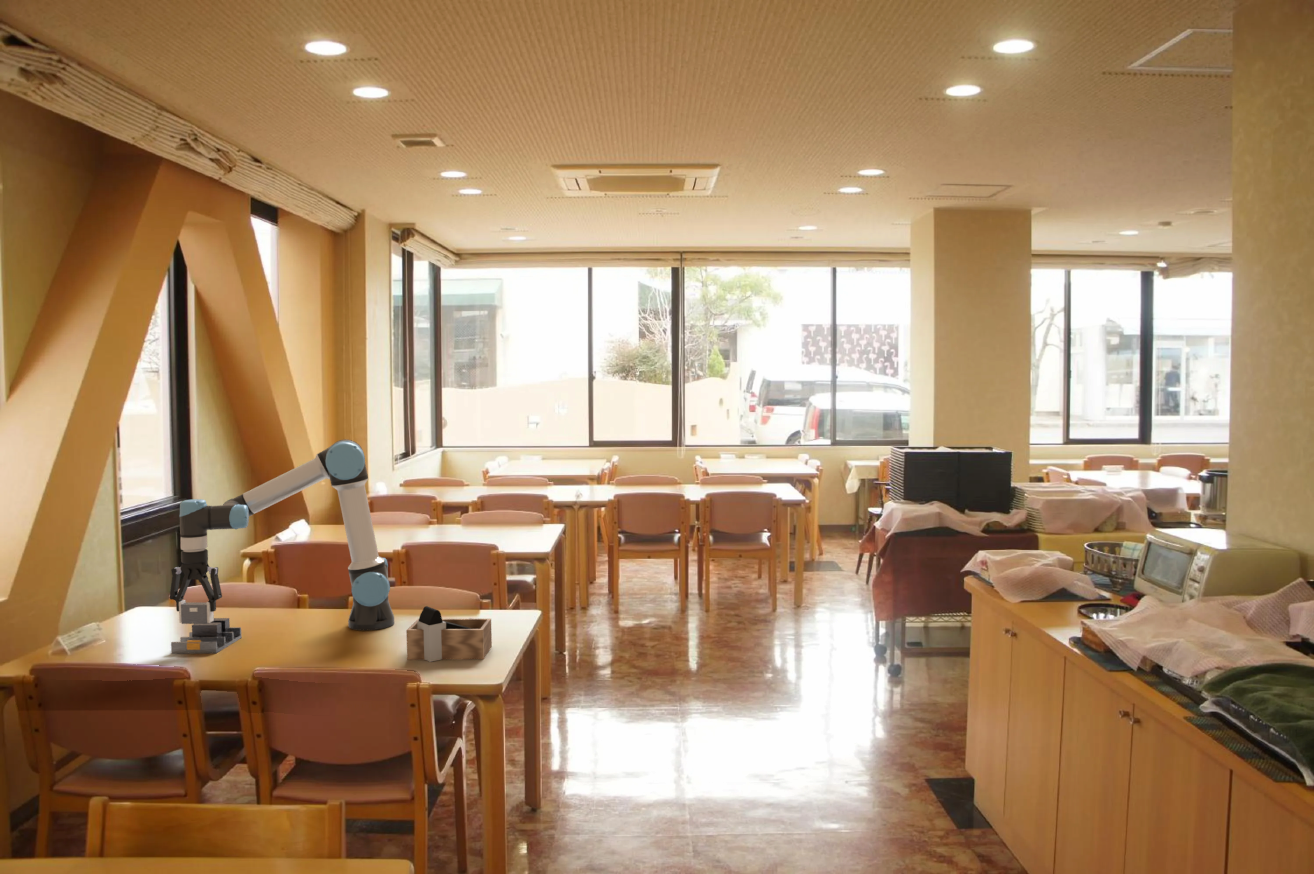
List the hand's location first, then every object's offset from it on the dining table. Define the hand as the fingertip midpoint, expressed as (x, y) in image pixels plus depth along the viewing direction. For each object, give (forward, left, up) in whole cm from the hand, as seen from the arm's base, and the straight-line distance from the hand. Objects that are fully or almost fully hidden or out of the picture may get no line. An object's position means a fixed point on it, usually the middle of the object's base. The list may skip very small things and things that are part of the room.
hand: (196, 621), depth 298 cm
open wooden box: (-80, +4, -9) cm, 81 cm away
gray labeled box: (0, 0, 0) cm, 0 cm away
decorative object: (-80, +4, -9) cm, 81 cm away
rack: (0, -6, -9) cm, 11 cm away
